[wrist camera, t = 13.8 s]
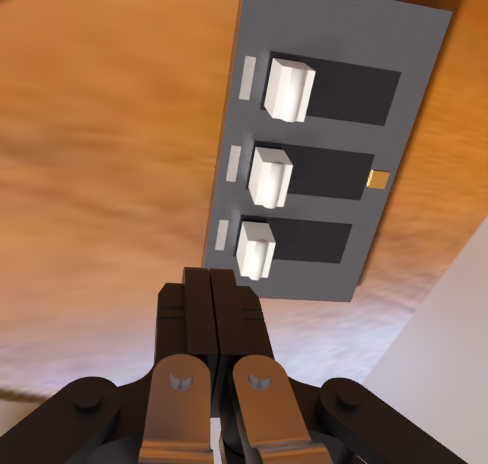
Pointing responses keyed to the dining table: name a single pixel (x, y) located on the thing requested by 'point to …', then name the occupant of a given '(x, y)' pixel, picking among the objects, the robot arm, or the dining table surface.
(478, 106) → the dining table surface
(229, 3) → the dining table surface
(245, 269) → the breaker
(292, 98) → the breaker
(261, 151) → the breaker
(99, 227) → the dining table surface
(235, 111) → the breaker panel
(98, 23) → the dining table surface
